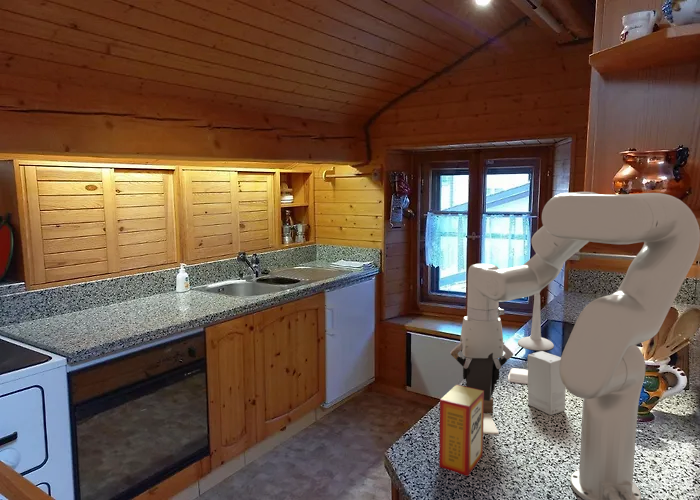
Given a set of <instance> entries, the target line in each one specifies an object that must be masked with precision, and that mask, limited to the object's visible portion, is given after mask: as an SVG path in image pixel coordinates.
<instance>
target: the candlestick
mask: <svg viewBox="0 0 700 500" xmlns="http://www.w3.org/2000/svg"><path fill="white" fill-rule="evenodd" d="M541 291H542V290H540V291H539V292H537V293H536V294H534V295H533V296H534V297H533V299H534V300H533V306H532V307H533V309H532V320H531V321H532V322H531V330H530V335H529V336H523V337H521V338H520V339H518V340H517V345H518V346H519V347H521V348H523V349H526V350H531V351H539V352H540V351H549V350H552V349H553V348H554V347H555V346H554V343H553V342H552V341H551V340H550V339H547V338H545V337H542V333H541V332H542V327H541V324H542V323H541V320H542V319H541V295H540V293H541Z"/></svg>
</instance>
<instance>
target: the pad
mask: <svg viewBox="0 0 700 500" xmlns="http://www.w3.org/2000/svg"><path fill="white" fill-rule="evenodd" d="M483 435H499V430H498V428H497V425H496V424H495V422H494V420H493V417H492V415H491V413H484V421H483Z"/></svg>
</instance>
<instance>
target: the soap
mask: <svg viewBox="0 0 700 500" xmlns="http://www.w3.org/2000/svg"><path fill="white" fill-rule="evenodd" d="M507 380H508V382H511V383H518V384H523V385H524V384H525V385H526V384H527V385H528V369H525V368H517V367H516V368H515V367H512V368H510V370H509V373H508V375H507Z"/></svg>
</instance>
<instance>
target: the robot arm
mask: <svg viewBox="0 0 700 500" xmlns="http://www.w3.org/2000/svg"><path fill="white" fill-rule="evenodd" d="M541 223H542V226H541V227H540V228H539V229H538V230H536V232H535V233H534V234H533V235H532V237H531V246H532V249H533V250H534V252H535V254H534V255H533V256H532V257H531V258H529V260H527V261H526V262H524V264H522V265H519V266H512V267H506V268H505V267H504V268H499V267H498V266H497V265H495V264H492V263H475V264H471V265H470V266H469V267H468V272H467V305H466V316H464V317H463V319H462V324H461V329H460V342H459V343H458V344H456V345H455V346H454V348H452V349H451V350H450V356H452V358H453V359H455V360H456V361H457V362H458V364H460V365H461V366H462V379H463V380H464V381H465V382H466V381H467V375H469V372H470V369H469V368H468V366H469V364H470V362H471V360H472V358H475V359H484V358H488V356H489V355H490V354H491V353H493V361H494V368H493V373H492V381H493V383H494V384H495V385H497V383H498V380H500V370H501V368H502V367H503V366H504V365H505V364H506V363H507V361H508V360H510V359H511V358H512V357H513V356H514V353H513V351H512V350H511V349H509V348H508V347H507V346H506V344H505V343H504V337H503V333H504V332H503V327H502V326H503V325H502V320H501V317H500V316H502V315H505V309H504V308H500V307H499V302H500V303H504V302H508V301H513V300H518V299H522V298H526V297H527V298H528V297H532V296H534V295H535V294H536V293H537V292H539V291H540V290H541V291H542V290H543V289H545V288H546V287H547V286H548V285H549V284H550V283H552V282H553V281H554V280H555V279H556V278H557V277H558V276H559V275H560V273H561V271H562V269H563V267H564V263H566V262H567V260H569V259H570V258H572V256H573V255H575V254H576V253H578V252H579V251H580V250H581V249H582V248H583V247H584V246H585V245H587V244H588V243H590V242H592V243H599V244H609V245H610V244H611V245H631V244H638V243H643V245H642V248H641V249H640V251H639V252H638V253H637V254H636V255H635V257H634V258H633V260H632V261H631V263H630V265H629V266H628V269H627V270H626V274H625V276H624V278H623V279H622V282H621V283H620V285H619V286H618V289H617V290H616V291H615V292H613V293H611V294H608V295H604V296H601V297H598V298H596V299H593V300H592V301H590V302H589V303H587V305H586V306H585V307H583V309H582V310H581V312H580V313H579V315H578V317H577V319H576V321H575V324H574V326H573V328H572V330H571V333H570V335H569V338H568V340H567V342H566V344H565V346H564V349H563V351H562V354H561V356H560V357H561V360H560V364H559V373H560V378H561V381H562V383H563V385H564V386H565V390H567V391H568V392H569V393H570V394H572V395H573V396H575V397H577V398H579V399H583V402H582V412H581V427H580V428H581V431H580V432H581V433H580V448H579V450H580V451H579V469H577V470H575V471H573V472H572V474H571V476H570V481H569V482H570V486H571V489H572V490H573V492H574V493H576V495H577V496H578V497H580V498H582V499H583V500H642V493H641V490H640V489H639V487H638V486H637V485H636V484H635V483H634V468H635V454H636V452H635V451H636V438H637V437H636V436H637V427H638V426H637V423H638V413H639V402H640V397H641V392H642V388H643V384H644V381H645V376H646V360H645V358H644V354H643V352H642V350H641V349H640V348H639V347H638V345H639V344H642V343H644V342H647V341H649V340H651V339H653V338H654V337H655V336H657V334H658V333H659V331H660V329H661V327H662V325H663V323H664V321H665V319H666V317H667V316H668V313H669V311H670V310H671V307H672V306H673V304H674V301H675V300H676V298H677V296H678V293H679V291H680V289H681V286H682V285H683V282H684V281H685V279H686V277H687V275H688V273H689V272H690V269H691V267H692V265H693V263H694V261H695V260H696V257H697V254H698V251H699V247H700V226H699V223H698V220H697V218H696V215H695V213H694V212H693V210H692V209H691V208H690V207H689V206H688V205H687V204H686V203H685V202H683V201H682V200H681V199H679V198H678V197H676V196H673V195H670V194H666V193H660V192H644V193H626V194H600V193H598V192H597V193H596V192H594V191H577V192H576V191H575V192H571V191H570V192H563V193H559V194H556V195H554V196H552V198H550V199H549V200H548V201H547V202H546V203H545V204H544V206H543V209H542V212H541ZM541 291H540V292H541ZM459 352H462V356H463V357H462V356H461V355H460V354H459Z"/></svg>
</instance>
